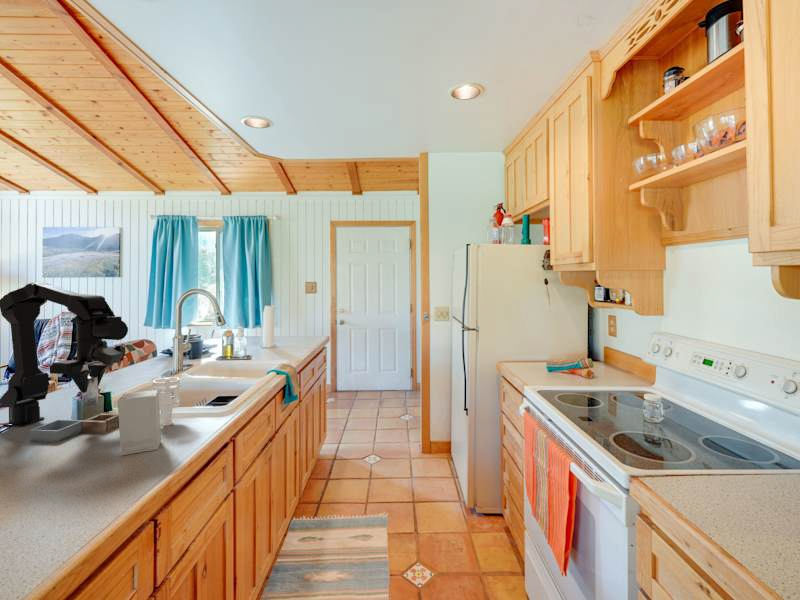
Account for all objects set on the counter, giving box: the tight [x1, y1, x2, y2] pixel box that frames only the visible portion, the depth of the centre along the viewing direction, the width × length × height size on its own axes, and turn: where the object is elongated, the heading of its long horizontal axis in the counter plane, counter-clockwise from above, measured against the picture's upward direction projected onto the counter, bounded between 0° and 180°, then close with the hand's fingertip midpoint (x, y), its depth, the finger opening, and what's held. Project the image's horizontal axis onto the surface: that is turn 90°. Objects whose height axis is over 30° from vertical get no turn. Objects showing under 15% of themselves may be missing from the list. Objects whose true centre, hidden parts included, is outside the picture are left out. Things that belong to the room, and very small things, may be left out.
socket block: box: [81, 413, 119, 433], centre depth 108 cm, size 7×7×3 cm
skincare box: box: [117, 389, 162, 456], centre depth 95 cm, size 8×6×15 cm
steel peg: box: [81, 375, 99, 407], centre depth 106 cm, size 4×4×8 cm
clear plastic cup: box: [152, 376, 181, 427], centre depth 112 cm, size 7×7×15 cm
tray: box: [29, 419, 84, 443], centre depth 102 cm, size 8×8×3 cm
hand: (89, 390), depth 106 cm, fingers closed on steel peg, 3 cm apart
